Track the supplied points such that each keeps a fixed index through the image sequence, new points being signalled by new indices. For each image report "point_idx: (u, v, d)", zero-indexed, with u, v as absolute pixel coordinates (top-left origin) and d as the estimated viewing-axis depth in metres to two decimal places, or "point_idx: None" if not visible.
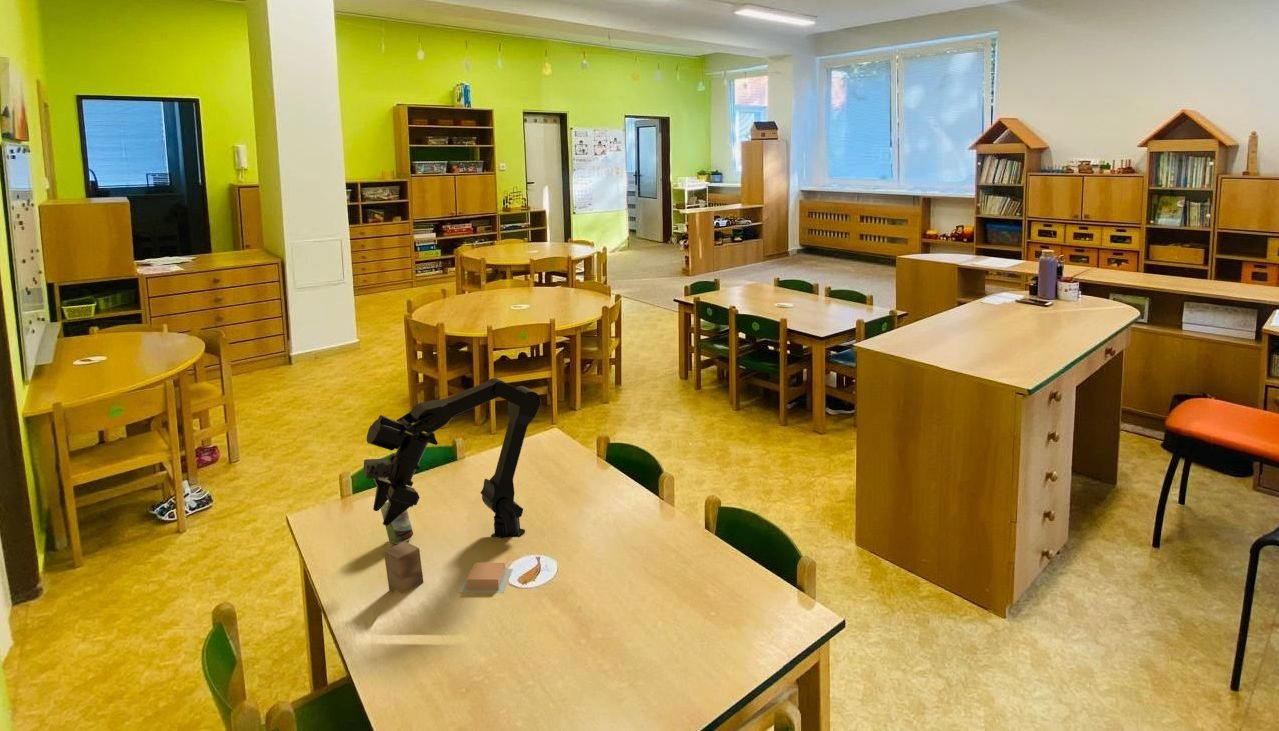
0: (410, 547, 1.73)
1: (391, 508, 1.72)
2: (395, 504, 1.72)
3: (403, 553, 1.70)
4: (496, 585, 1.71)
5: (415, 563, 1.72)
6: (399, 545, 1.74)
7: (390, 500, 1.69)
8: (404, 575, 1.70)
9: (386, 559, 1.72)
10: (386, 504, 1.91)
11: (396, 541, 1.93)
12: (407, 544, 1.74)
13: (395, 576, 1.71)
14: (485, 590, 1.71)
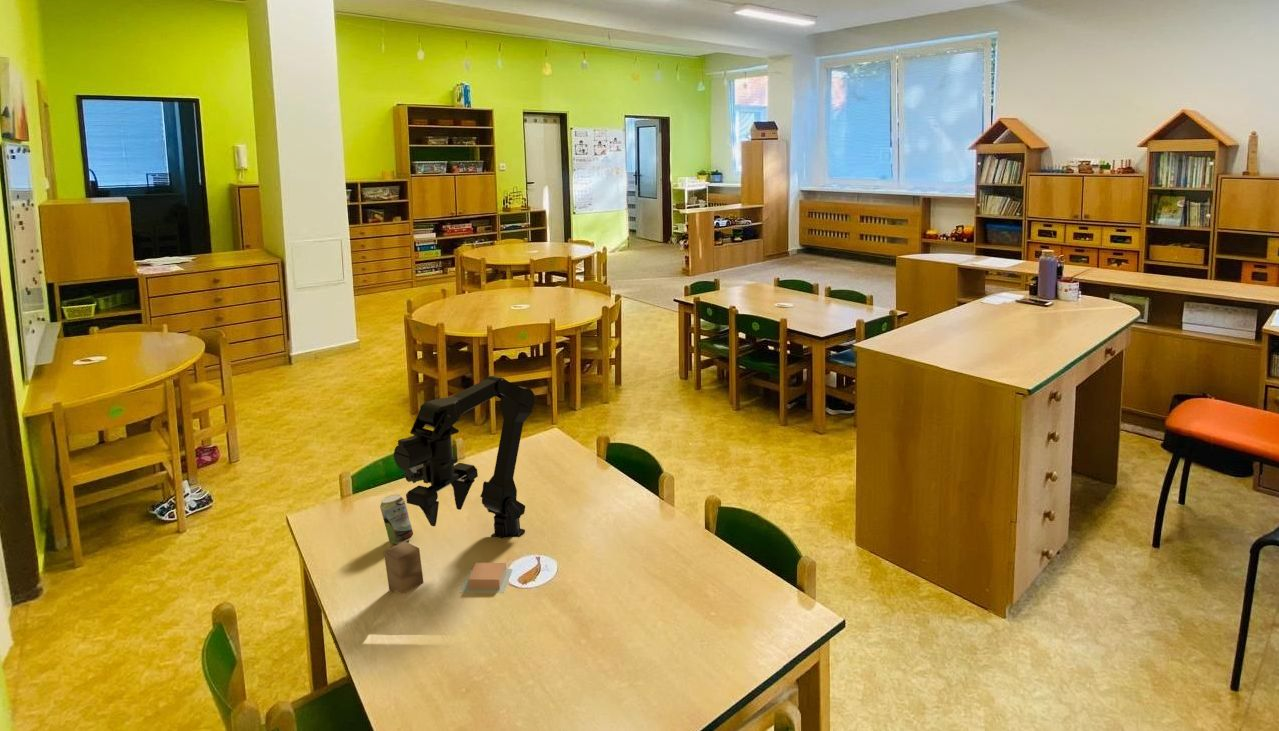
0: (410, 547, 1.73)
1: (424, 510, 1.74)
2: None
3: (403, 553, 1.70)
4: (497, 585, 1.71)
5: (415, 563, 1.72)
6: (399, 545, 1.74)
7: None
8: (404, 575, 1.70)
9: (387, 559, 1.72)
10: (386, 504, 1.91)
11: (396, 541, 1.93)
12: (407, 544, 1.74)
13: (395, 576, 1.71)
14: (485, 590, 1.71)
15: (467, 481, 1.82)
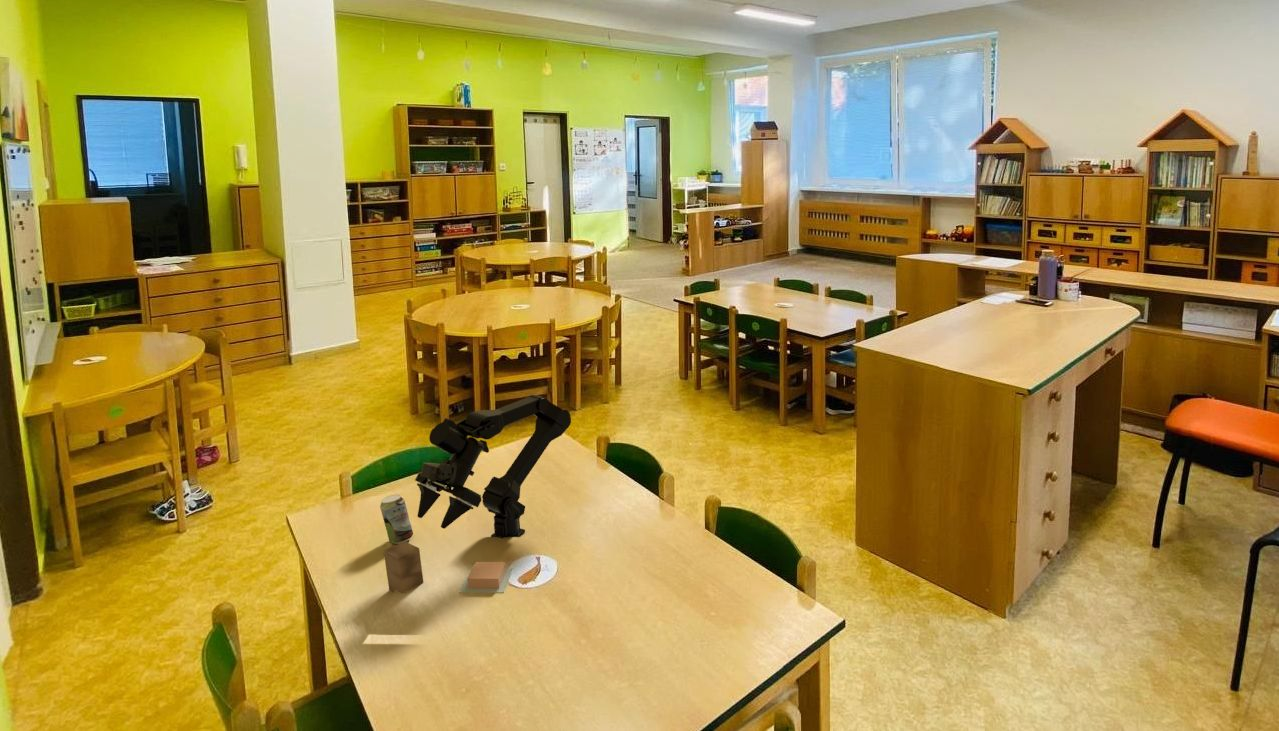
0: (410, 547, 1.73)
1: (452, 510, 1.74)
2: (456, 506, 1.75)
3: (403, 553, 1.70)
4: (496, 584, 1.71)
5: (415, 563, 1.72)
6: (399, 545, 1.74)
7: (456, 501, 1.72)
8: (404, 575, 1.70)
9: (386, 559, 1.72)
10: (386, 504, 1.91)
11: (396, 541, 1.93)
12: (407, 544, 1.74)
13: (395, 576, 1.71)
14: (485, 590, 1.71)
15: None
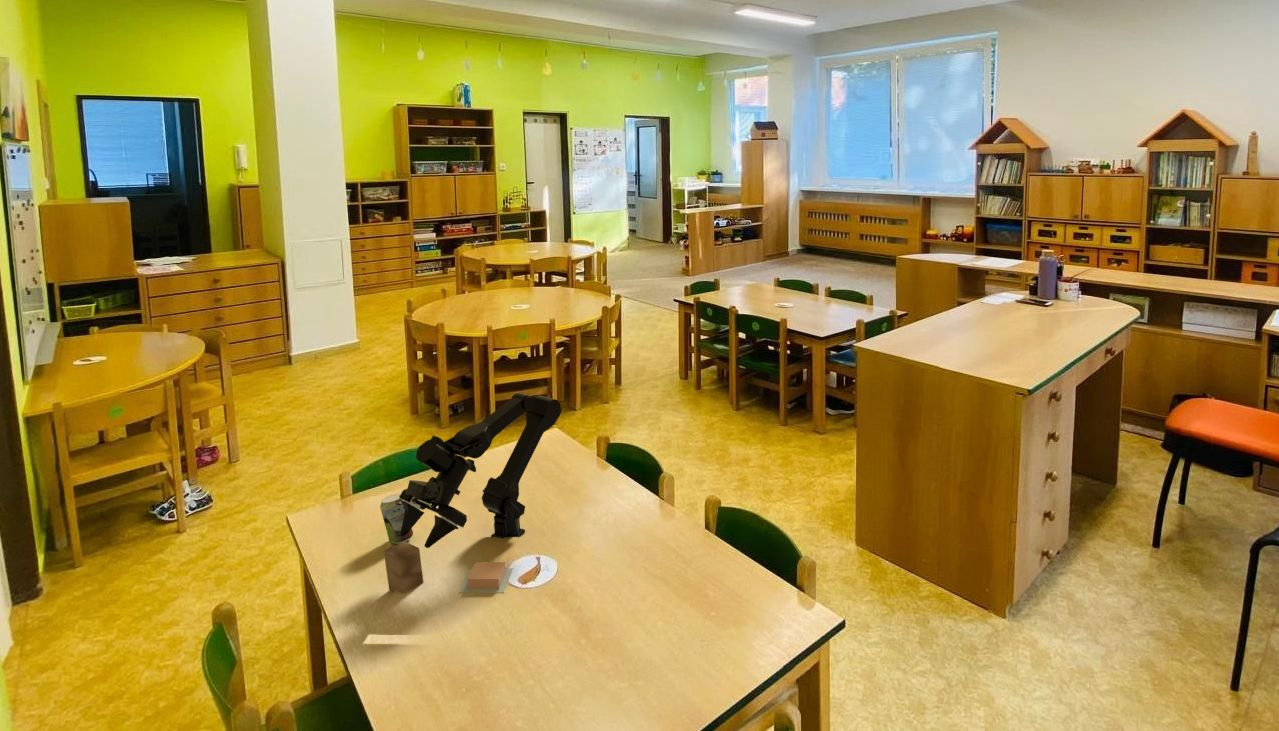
0: (410, 547, 1.73)
1: (437, 530, 1.71)
2: (441, 526, 1.72)
3: (403, 553, 1.70)
4: (496, 584, 1.71)
5: (415, 563, 1.72)
6: (399, 545, 1.74)
7: (442, 520, 1.70)
8: (404, 575, 1.70)
9: (386, 559, 1.72)
10: (386, 504, 1.91)
11: (396, 541, 1.93)
12: (407, 544, 1.74)
13: (395, 576, 1.71)
14: (485, 590, 1.71)
15: None
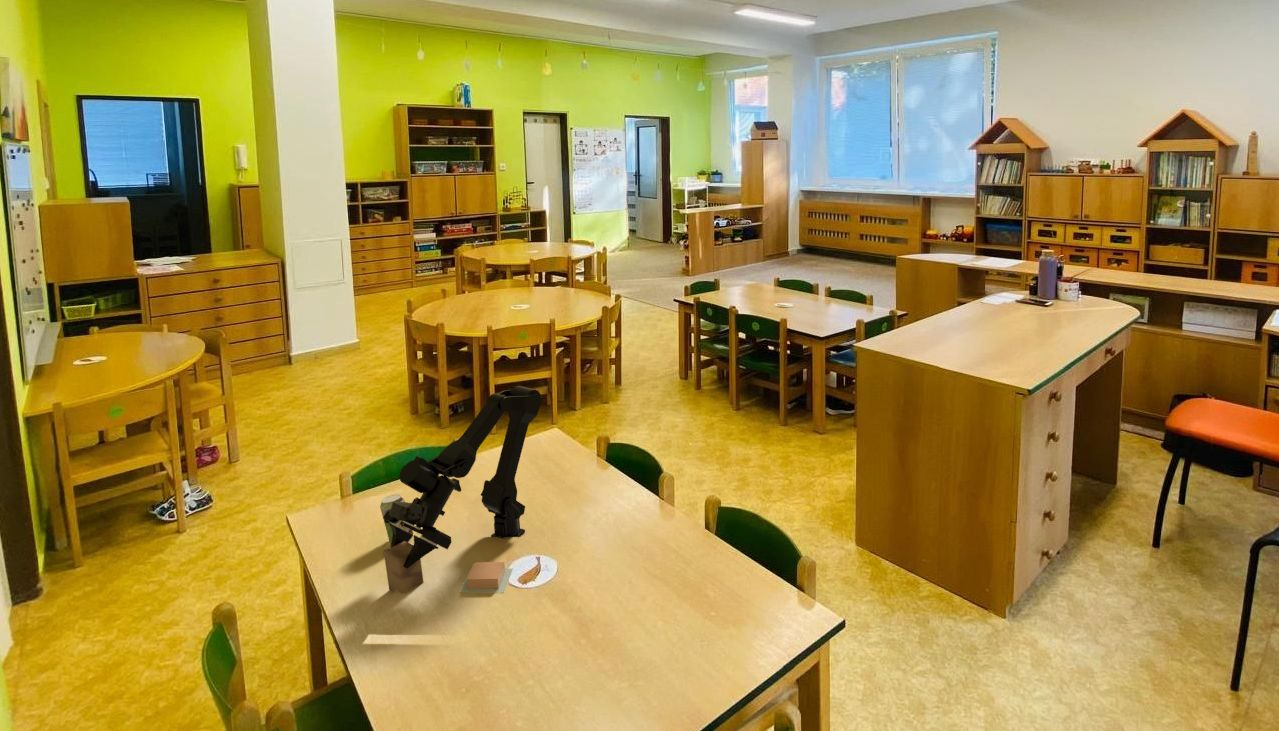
0: (410, 547, 1.73)
1: (417, 550, 1.70)
2: (420, 546, 1.71)
3: (403, 553, 1.70)
4: (496, 584, 1.71)
5: (415, 563, 1.72)
6: (399, 545, 1.74)
7: (421, 540, 1.68)
8: (404, 575, 1.70)
9: (386, 559, 1.72)
10: (386, 504, 1.91)
11: None
12: (407, 544, 1.74)
13: (395, 576, 1.71)
14: (485, 590, 1.71)
15: None
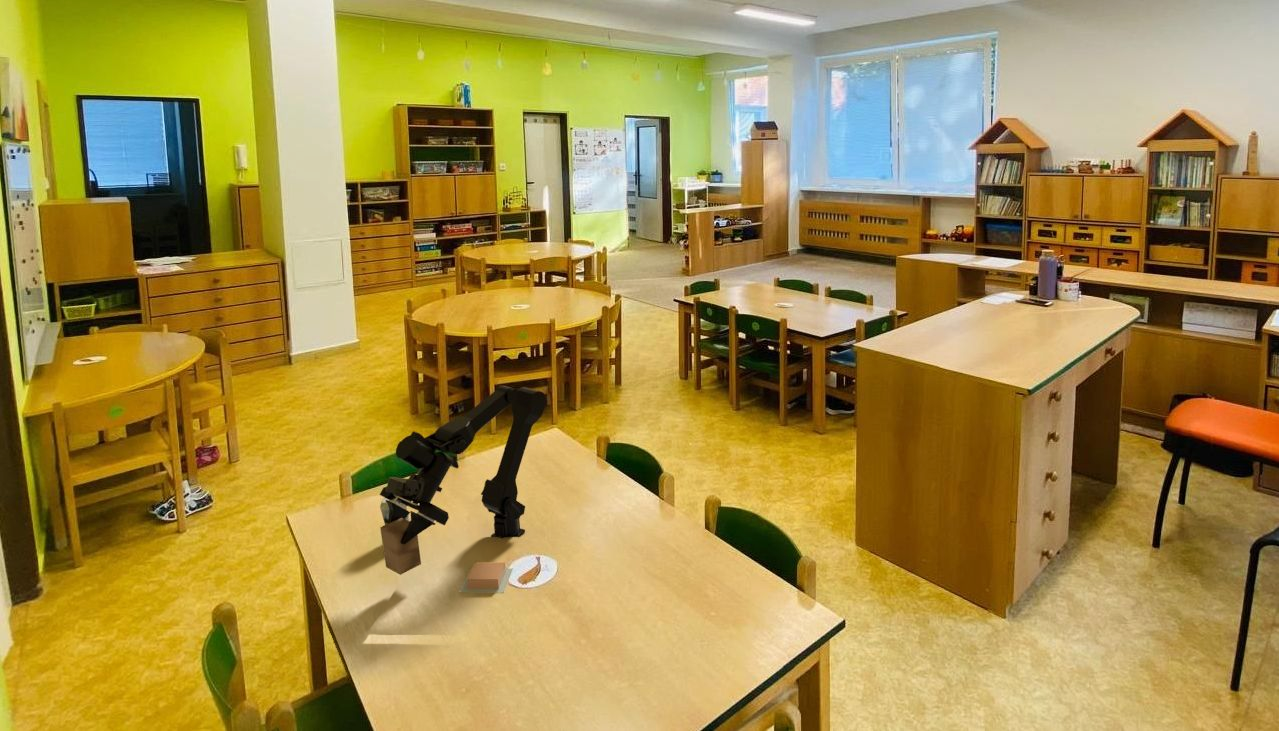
0: (406, 523, 1.71)
1: (413, 526, 1.68)
2: (417, 522, 1.69)
3: (399, 529, 1.69)
4: (496, 585, 1.71)
5: (412, 539, 1.70)
6: (396, 521, 1.72)
7: (418, 516, 1.67)
8: (400, 551, 1.69)
9: (383, 535, 1.70)
10: (386, 504, 1.91)
11: None
12: (404, 520, 1.72)
13: (392, 552, 1.69)
14: (485, 590, 1.71)
15: None
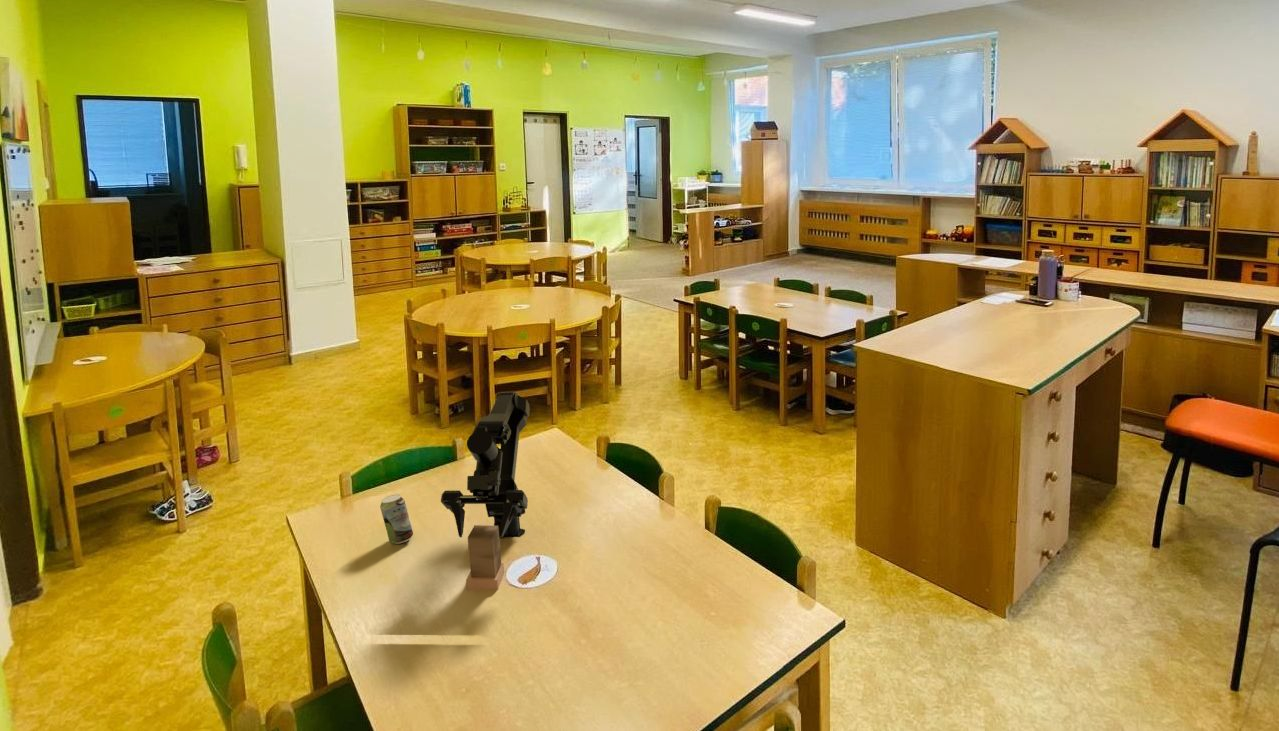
0: (488, 527, 1.73)
1: None
2: None
3: (489, 533, 1.70)
4: (495, 586, 1.71)
5: (497, 541, 1.73)
6: (475, 529, 1.72)
7: (515, 504, 1.71)
8: (494, 554, 1.71)
9: (472, 545, 1.69)
10: (386, 504, 1.91)
11: (396, 541, 1.93)
12: (481, 526, 1.73)
13: (485, 558, 1.70)
14: None
15: None
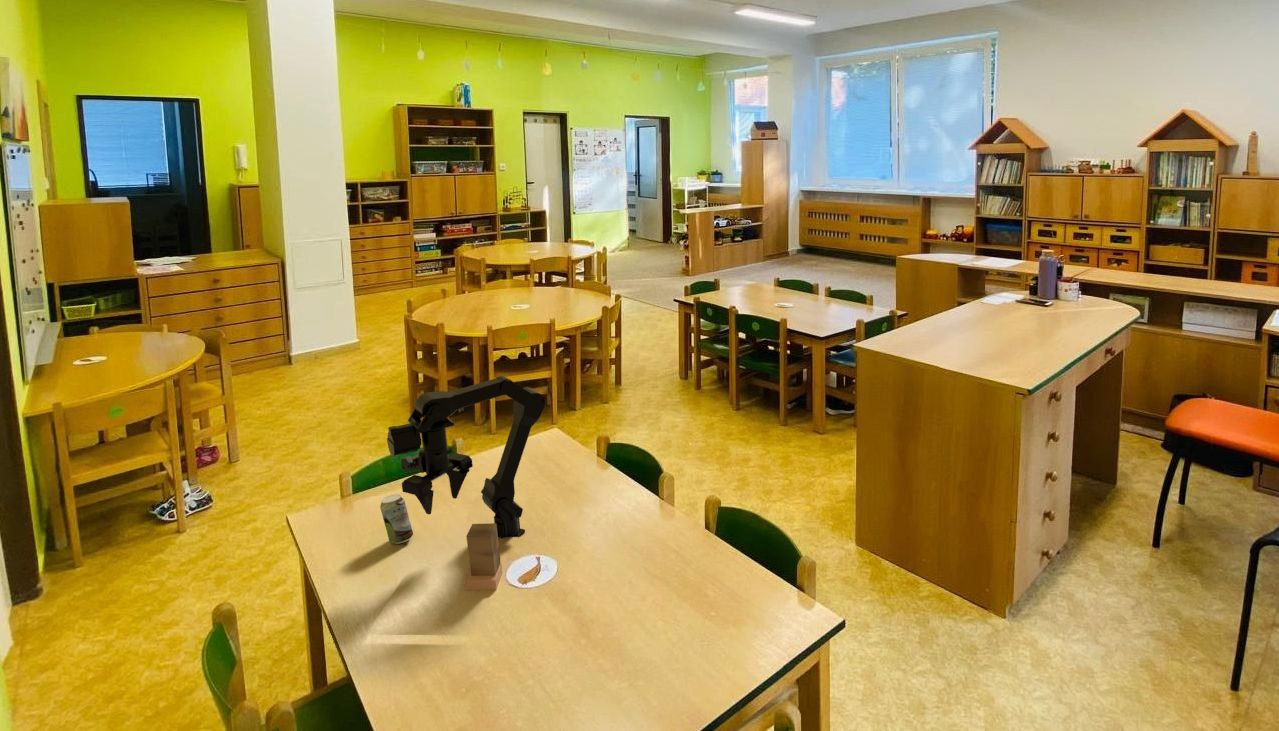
0: (487, 525, 1.74)
1: (419, 498, 1.80)
2: None
3: (488, 530, 1.71)
4: (493, 586, 1.71)
5: (496, 538, 1.74)
6: (473, 527, 1.73)
7: None
8: (493, 551, 1.71)
9: (471, 543, 1.70)
10: (386, 504, 1.91)
11: (396, 541, 1.93)
12: (480, 524, 1.74)
13: (484, 556, 1.71)
14: None
15: (462, 471, 1.88)
